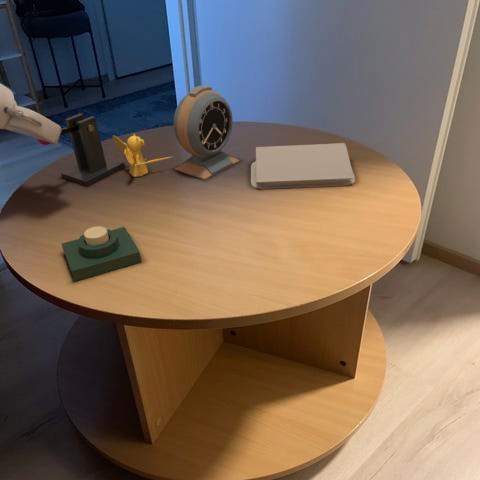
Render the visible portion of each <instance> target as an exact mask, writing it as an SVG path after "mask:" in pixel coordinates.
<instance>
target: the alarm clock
mask: <svg viewBox="0 0 480 480" xmlns="http://www.w3.org/2000/svg"><path fill="white" fill-rule="evenodd" d="M233 119H234V118H233V112H232V110H231V105H229V103H228V101H227V100H226V98H225V97H223V96H222V95H221V94H220V93H219V92H217V91H216V90H213V87H212V86H209V85H198V86H197V85H196V86H195V87H194V88H192V89H191V90H189V92H187V94H185V95H184V96H183V97H182V98H181V100H179V102H178V104H177V106H176V108H175V111H174V115H173V132H174V135H175V138H176V140H177V142H178V144H179V145H180V146H181V147H182V148H183V150H185V152H187V153H188V154H190V155H191V156H190V157H189V158H187V159H186V160H184V161H183V162H182V163H181V164H180V165H178V166H177V167H175V168H174V170H175V171H177V172H179V173H180V172H181V173H184V174H186V175H189V176H192V177H195V178H198V179H200V180H204V181H206V180H207V179H209V178H211V177H213V176H215V175H216V174H219V173H220V172H222V171H224V170H226V169H228V168H230V167H232V166H233V165H236V164H237V163H240V161H241V160H240V159H238V158H236V157H233V156H231V155H229V154H226V152H224V151H222V150H223V149H224V148H225V146H226V145H227V143H228V141H229V140H230V137H231V134H232V130H233V121H234V120H233Z"/></svg>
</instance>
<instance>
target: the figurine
mask: <svg viewBox="0 0 480 480" xmlns="http://www.w3.org/2000/svg"><path fill="white" fill-rule="evenodd" d="M111 137H112V140H113V142H114V145H115V146H116V147H117V148H118V150H119V151H120V152H121V153H122V154H123V155H124V156H125V158H126V160H127V162H128V163H129V165H130V168H129V171H128V173H129V174H130V175H131V177H134V178H135V177H142V176H144V175H147V174H148V173H149V170H148V168H147V167H148V165H147V164H154V163H156V162H160V161H161V162H162V161H164V160H167V159H172V158H174V157H175V156H166V157H161V158H155V159H151V160H148V161H146V160H147V158H145V159H144V157H143V153H142V151H141V149H142V147H145V146H146V144H145V141H144V139H143V138H142V139H141V136H138V135H136V134H135V132H133V134H132V135H131V136H130V137H128V138H127V140H126V142H123V141H122V140H121V139H120V138H119V137H117V136H116V135H113V134H112V135H111Z"/></svg>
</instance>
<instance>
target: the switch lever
mask: <svg viewBox="0 0 480 480" xmlns="http://www.w3.org/2000/svg"><path fill="white" fill-rule="evenodd" d="M84 119H85V118H84ZM84 119H80V120H76V121H73V122H74V125H73V126H69V127H67V126H65V127H61V129H62V131H61V134H60V136H62V135H66V134H69V133H70V132H74V131H75V132H77V133H80V132H79V128H78V124H77V122H79V121H82V120H84ZM36 141H37V142H38V143H39V144H41V145H43V146H49V145H51V144H52V143H50V142H46V141H43V140H40V139H36Z"/></svg>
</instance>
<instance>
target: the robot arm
mask: <svg viewBox="0 0 480 480" xmlns="http://www.w3.org/2000/svg"><path fill="white" fill-rule="evenodd" d="M61 128H62V127H61V126H60V125H59V124H58V123H56V122H54V121H53V120H51V119H50V118H47V117H45V116H44V115H42V114H41V113H38V112H36V111H35V110H32V109H30V108H27V107H23V106H20V105H18V103H17V101H16V100H15V96H14V93H13V91H12V90H11V89H10V88H9V87H7V86H5V85H4V84H3V83H0V130H7V131H10V132H14V133H17V134H20V135H24V136H27V137H30V138H33V139H36V140H37V139H40V140H43V141H46V142H50V143H51V144H52V145H58V143H59V140H60V136H61V135H60V134H61V131H62V129H61Z"/></svg>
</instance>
